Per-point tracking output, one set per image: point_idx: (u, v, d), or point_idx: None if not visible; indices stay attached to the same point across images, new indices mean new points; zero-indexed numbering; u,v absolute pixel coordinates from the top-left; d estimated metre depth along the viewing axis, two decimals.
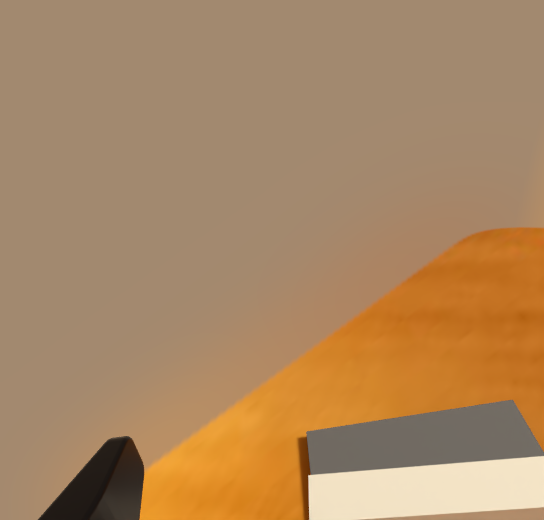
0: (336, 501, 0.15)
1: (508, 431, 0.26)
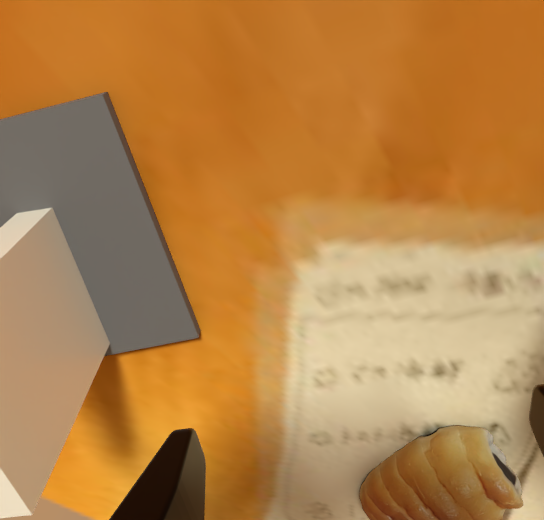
0: (3, 500, 0.16)
1: None
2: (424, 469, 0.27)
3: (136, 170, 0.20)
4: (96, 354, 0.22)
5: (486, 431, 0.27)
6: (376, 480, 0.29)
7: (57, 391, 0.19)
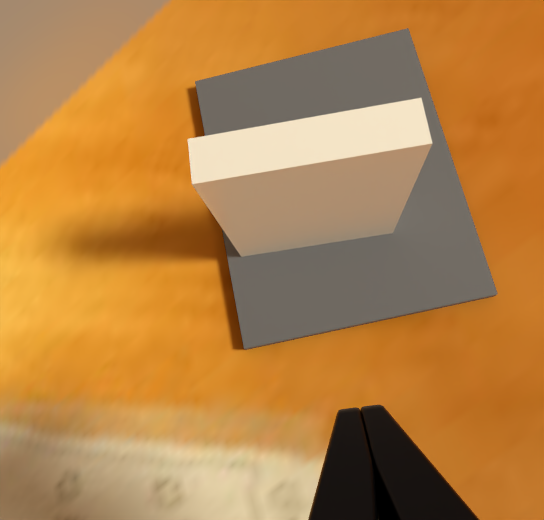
0: (217, 161, 0.15)
1: (397, 64, 0.25)
2: None
3: (426, 310, 0.22)
4: (248, 246, 0.22)
5: None
6: None
7: (264, 216, 0.19)
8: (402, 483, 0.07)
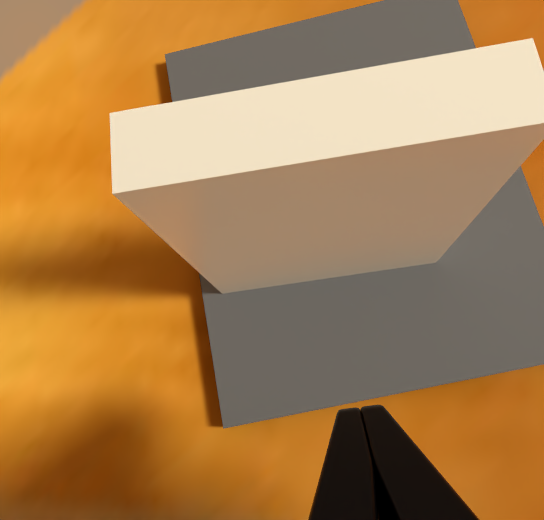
0: (159, 153, 0.08)
1: (438, 30, 0.19)
2: None
3: None
4: (231, 281, 0.15)
5: None
6: None
7: (249, 244, 0.12)
8: (402, 483, 0.07)
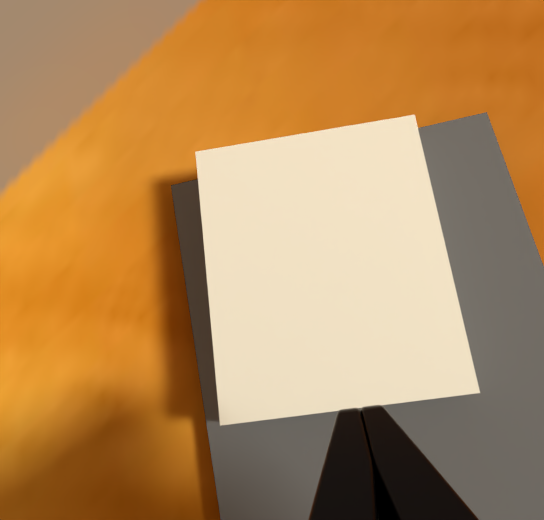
0: None
1: (473, 168, 0.17)
2: None
3: None
4: (235, 370, 0.14)
5: None
6: None
7: (260, 252, 0.15)
8: (402, 483, 0.07)
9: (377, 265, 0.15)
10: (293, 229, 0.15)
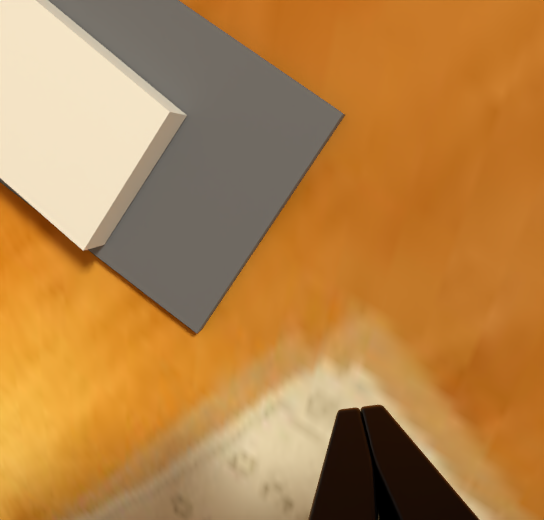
0: None
1: None
2: None
3: (300, 180, 0.20)
4: (64, 218, 0.21)
5: None
6: None
7: (19, 148, 0.21)
8: (402, 483, 0.07)
9: (71, 94, 0.20)
10: (20, 118, 0.21)
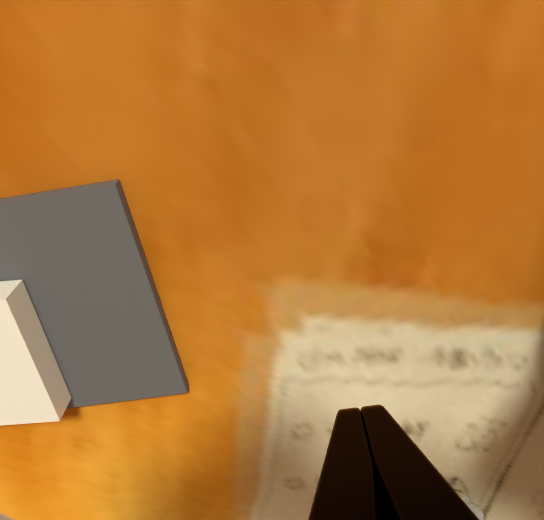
0: None
1: None
2: None
3: (140, 247, 0.22)
4: (26, 414, 0.24)
5: (462, 495, 0.30)
6: None
7: None
8: (402, 483, 0.07)
9: None
10: None
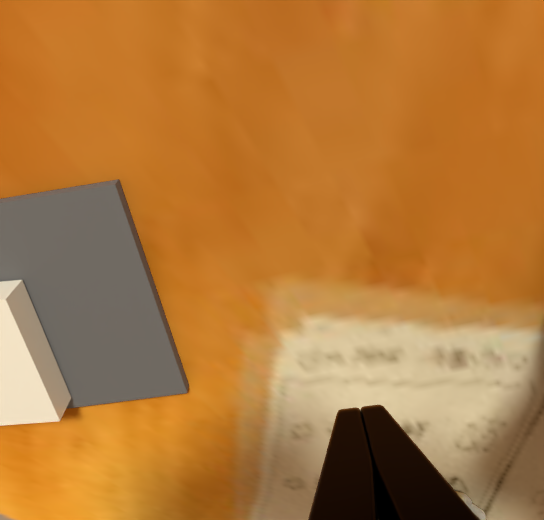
0: None
1: None
2: None
3: (140, 247, 0.22)
4: (26, 414, 0.24)
5: (464, 496, 0.30)
6: None
7: None
8: (402, 483, 0.07)
9: None
10: None
